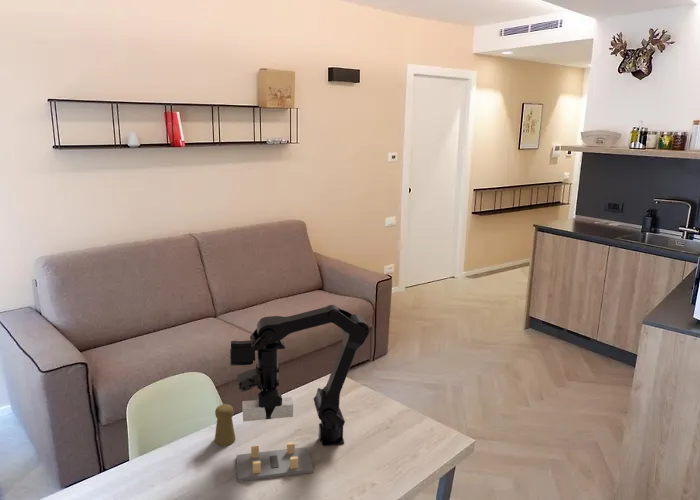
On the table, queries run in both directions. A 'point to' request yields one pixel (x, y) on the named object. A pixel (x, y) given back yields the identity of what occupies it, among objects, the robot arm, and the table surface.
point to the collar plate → (273, 463)
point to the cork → (224, 425)
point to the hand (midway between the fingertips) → (267, 412)
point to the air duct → (256, 413)
